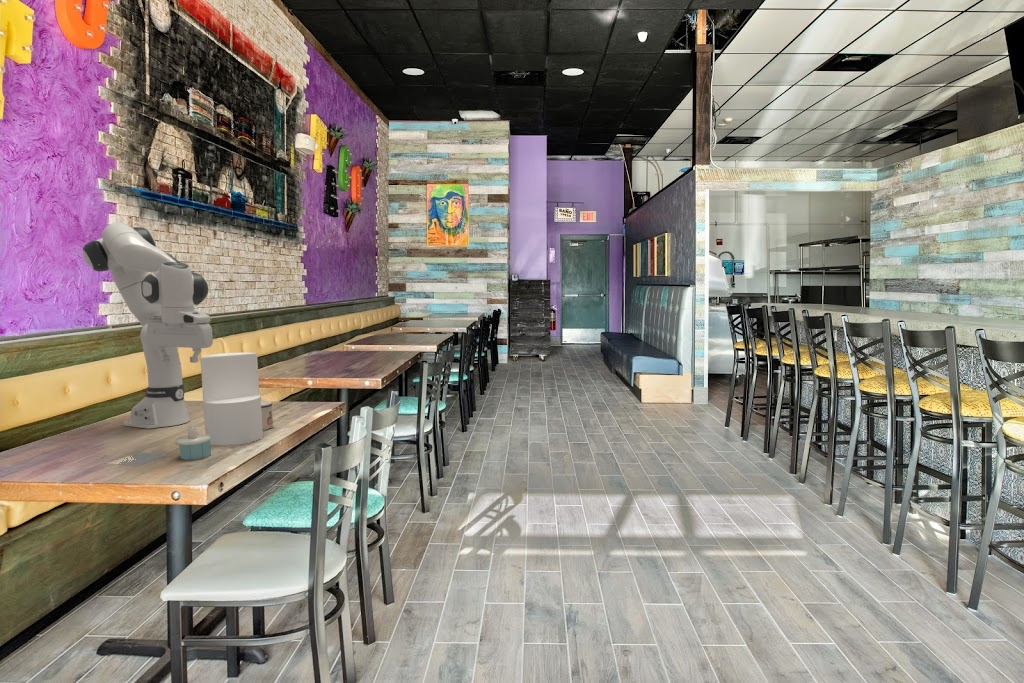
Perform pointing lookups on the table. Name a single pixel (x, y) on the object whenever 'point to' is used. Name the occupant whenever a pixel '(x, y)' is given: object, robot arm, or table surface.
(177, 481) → the table surface
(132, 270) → the robot arm
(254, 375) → the cylinder
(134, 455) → the mat
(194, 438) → the lid
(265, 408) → the teacup with lid
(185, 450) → the cup
